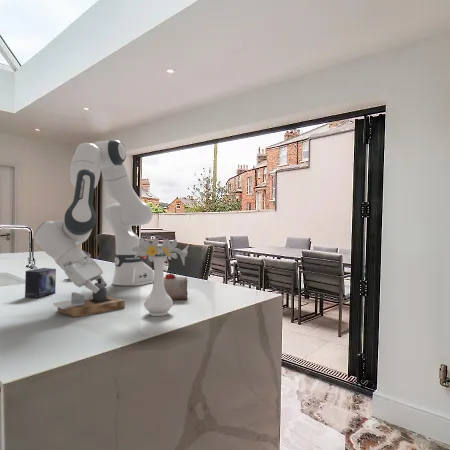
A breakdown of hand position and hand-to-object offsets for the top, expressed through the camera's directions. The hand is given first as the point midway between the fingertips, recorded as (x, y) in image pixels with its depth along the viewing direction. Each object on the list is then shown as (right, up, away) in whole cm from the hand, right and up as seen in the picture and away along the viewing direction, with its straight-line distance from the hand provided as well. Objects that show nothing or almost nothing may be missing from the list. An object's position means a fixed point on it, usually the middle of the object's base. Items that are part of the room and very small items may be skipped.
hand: (101, 288), depth 126 cm
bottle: (-1, -6, 0) cm, 6 cm away
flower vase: (+22, -7, -7) cm, 24 cm away
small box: (-31, -6, +20) cm, 38 cm away
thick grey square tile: (-8, -4, -8) cm, 12 cm away
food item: (+21, -7, +17) cm, 28 cm away
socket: (-3, -7, -2) cm, 7 cm away
